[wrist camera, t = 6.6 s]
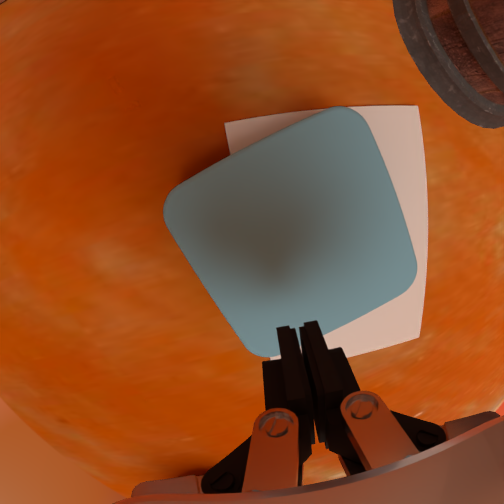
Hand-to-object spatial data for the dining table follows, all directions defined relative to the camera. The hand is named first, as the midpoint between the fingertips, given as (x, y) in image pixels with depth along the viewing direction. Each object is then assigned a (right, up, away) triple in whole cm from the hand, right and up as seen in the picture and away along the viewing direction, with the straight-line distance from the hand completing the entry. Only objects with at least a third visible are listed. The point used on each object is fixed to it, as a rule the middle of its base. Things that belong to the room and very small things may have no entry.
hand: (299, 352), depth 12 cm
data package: (-5, +2, +7) cm, 9 cm away
